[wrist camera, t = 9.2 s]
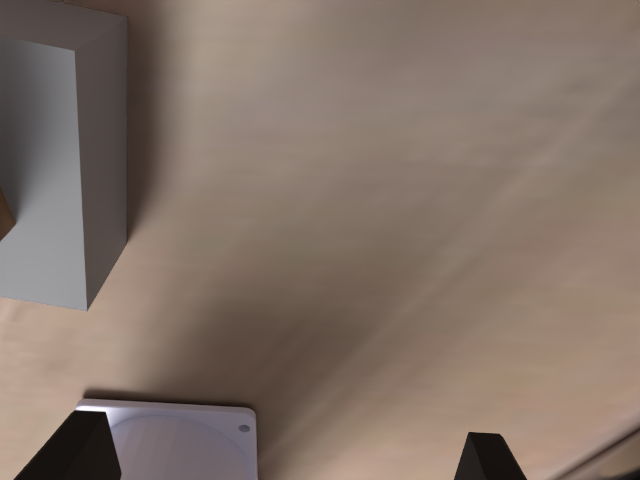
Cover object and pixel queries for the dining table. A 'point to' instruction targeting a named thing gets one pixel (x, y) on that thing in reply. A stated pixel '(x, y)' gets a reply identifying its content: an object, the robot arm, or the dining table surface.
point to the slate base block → (62, 150)
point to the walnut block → (5, 217)
